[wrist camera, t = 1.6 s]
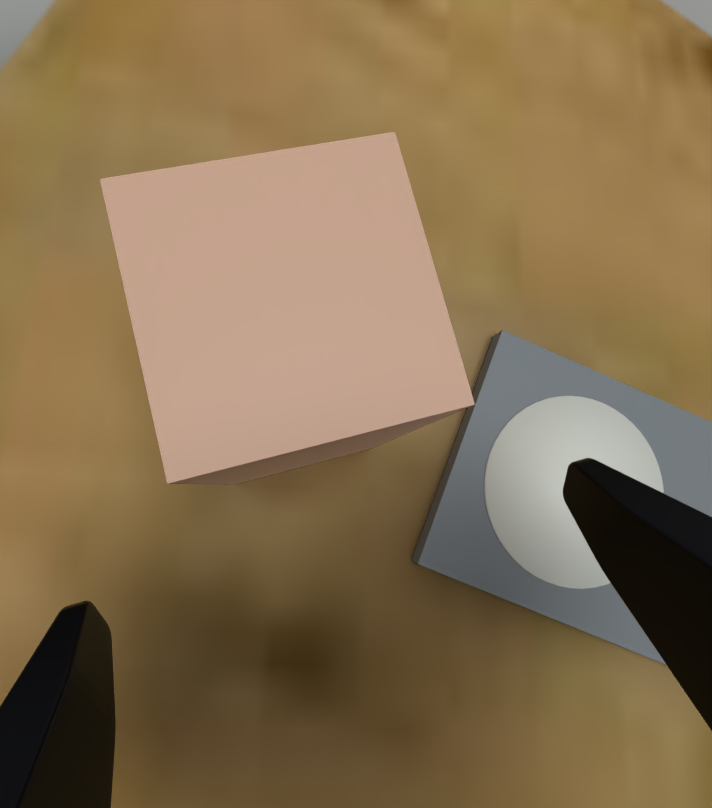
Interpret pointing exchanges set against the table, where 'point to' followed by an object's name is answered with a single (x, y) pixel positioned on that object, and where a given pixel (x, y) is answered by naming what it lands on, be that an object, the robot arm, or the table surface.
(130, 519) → the table surface
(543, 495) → the plate
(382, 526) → the table surface
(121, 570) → the table surface
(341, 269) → the pink block
